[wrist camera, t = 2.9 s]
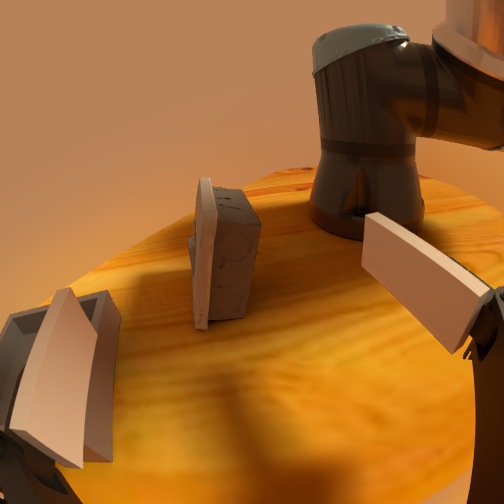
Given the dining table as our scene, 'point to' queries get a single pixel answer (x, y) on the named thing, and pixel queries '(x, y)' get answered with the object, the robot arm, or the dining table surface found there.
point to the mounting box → (101, 377)
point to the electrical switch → (222, 253)
